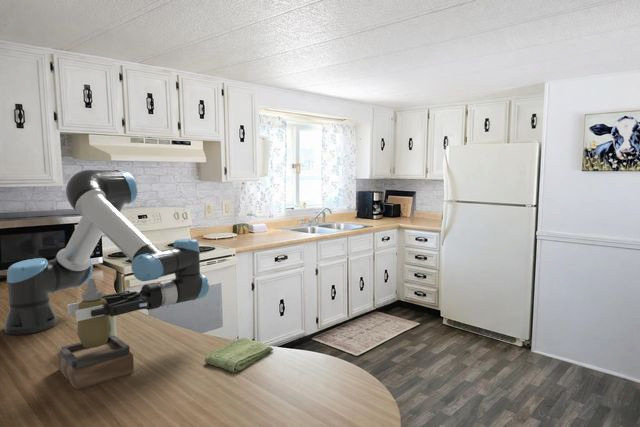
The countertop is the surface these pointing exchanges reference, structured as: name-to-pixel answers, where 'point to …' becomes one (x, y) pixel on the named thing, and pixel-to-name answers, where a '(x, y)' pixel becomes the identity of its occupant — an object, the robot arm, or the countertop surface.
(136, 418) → the countertop surface
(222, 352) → the washcloth
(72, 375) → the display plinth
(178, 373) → the countertop surface
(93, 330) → the squeeze bottle
